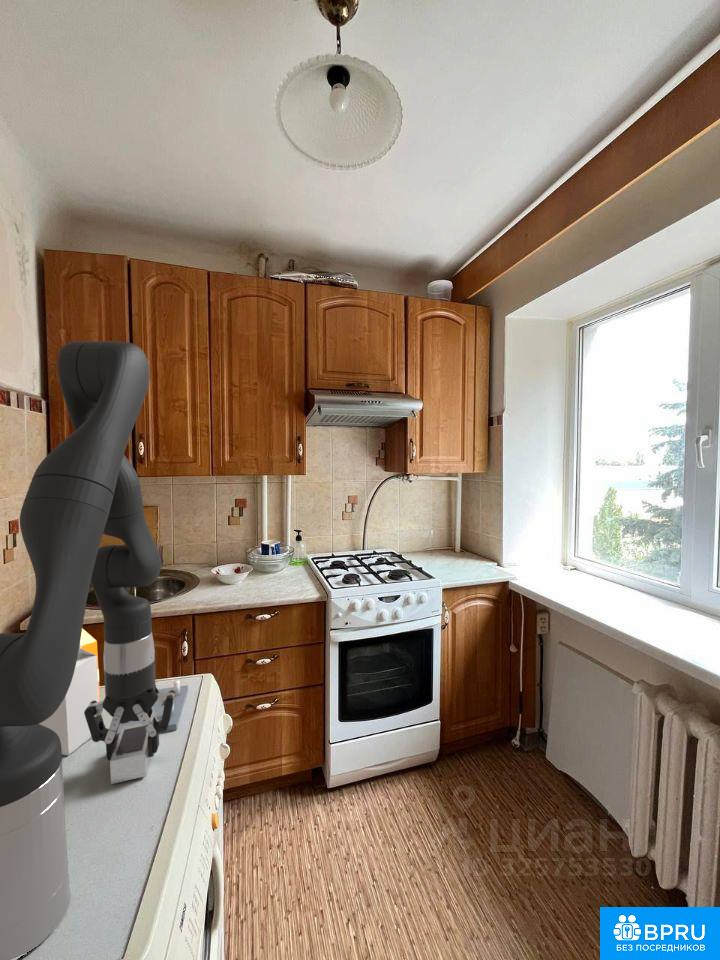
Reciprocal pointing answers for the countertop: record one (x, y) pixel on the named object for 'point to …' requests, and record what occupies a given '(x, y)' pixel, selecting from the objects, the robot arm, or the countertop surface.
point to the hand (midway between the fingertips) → (133, 756)
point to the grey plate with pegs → (176, 710)
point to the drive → (130, 754)
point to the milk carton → (76, 704)
